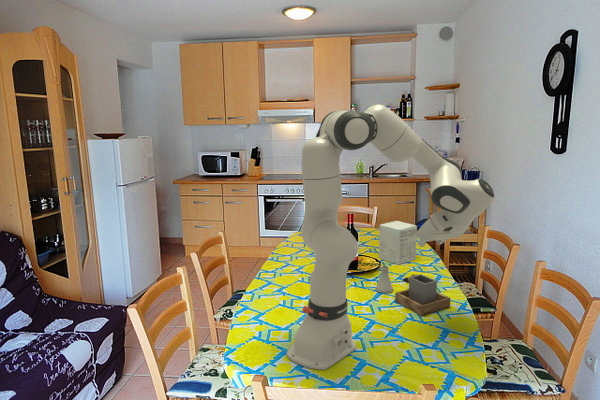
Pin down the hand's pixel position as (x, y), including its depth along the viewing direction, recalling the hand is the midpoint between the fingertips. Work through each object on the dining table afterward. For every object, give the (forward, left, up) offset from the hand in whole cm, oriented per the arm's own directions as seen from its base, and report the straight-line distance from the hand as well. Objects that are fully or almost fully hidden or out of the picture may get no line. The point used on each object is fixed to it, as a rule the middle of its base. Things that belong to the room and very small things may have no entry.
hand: (429, 244), depth 142 cm
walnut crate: (+4, +3, -25) cm, 26 cm away
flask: (+9, +20, -25) cm, 33 cm away
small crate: (+4, +3, -24) cm, 25 cm away
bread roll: (+24, +11, -26) cm, 37 cm away
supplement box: (+48, +29, -25) cm, 61 cm away
